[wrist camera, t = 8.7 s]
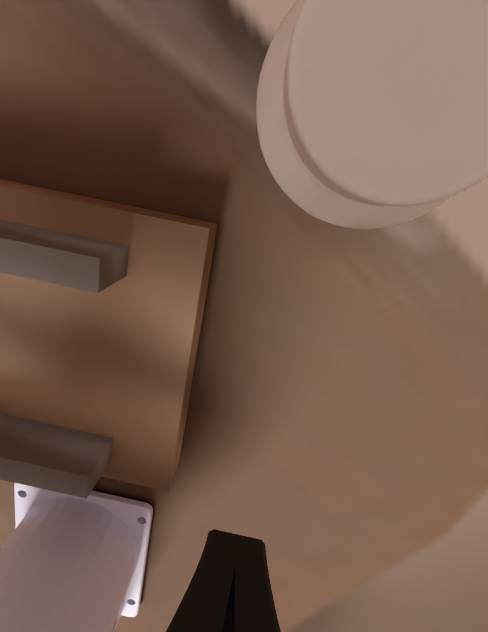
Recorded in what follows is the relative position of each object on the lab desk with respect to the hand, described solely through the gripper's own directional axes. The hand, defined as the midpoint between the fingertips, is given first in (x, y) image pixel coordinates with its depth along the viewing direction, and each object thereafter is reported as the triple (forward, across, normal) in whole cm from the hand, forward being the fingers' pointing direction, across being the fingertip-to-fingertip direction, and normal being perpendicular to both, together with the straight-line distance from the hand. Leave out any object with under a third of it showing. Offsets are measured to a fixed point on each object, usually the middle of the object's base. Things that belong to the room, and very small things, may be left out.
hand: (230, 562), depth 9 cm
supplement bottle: (+10, -1, -11) cm, 15 cm away
